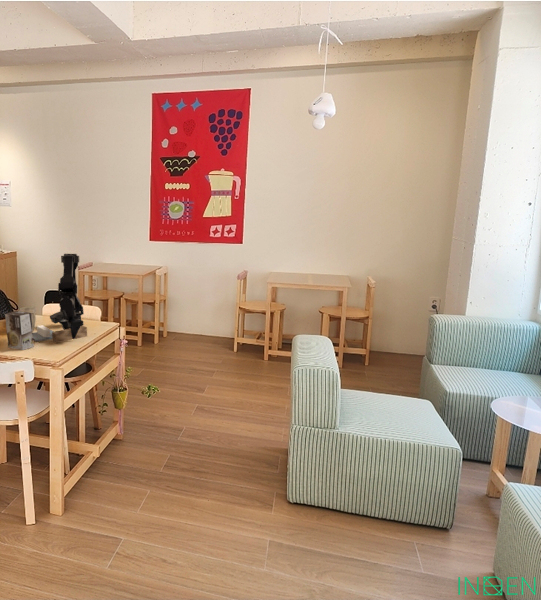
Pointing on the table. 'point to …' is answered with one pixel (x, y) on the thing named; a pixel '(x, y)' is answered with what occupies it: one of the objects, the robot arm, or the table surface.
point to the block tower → (32, 311)
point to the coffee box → (19, 330)
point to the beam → (68, 334)
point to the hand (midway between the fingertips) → (70, 336)
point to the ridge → (42, 334)
